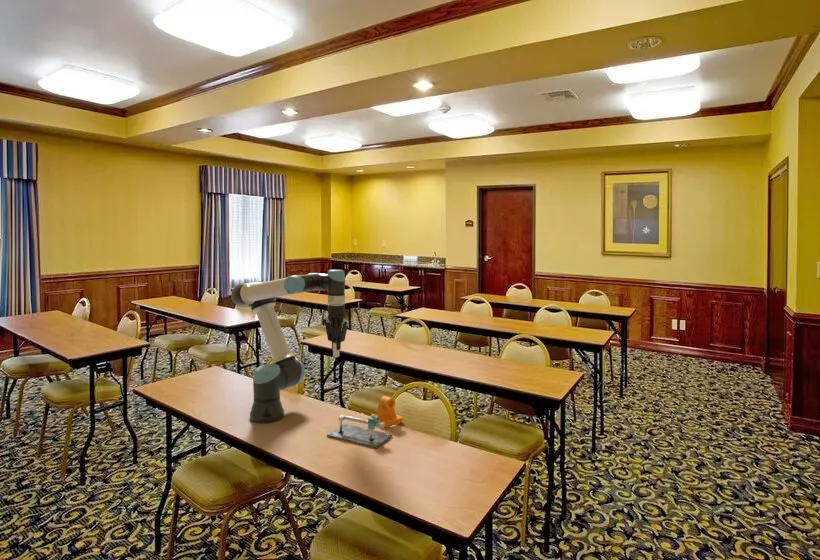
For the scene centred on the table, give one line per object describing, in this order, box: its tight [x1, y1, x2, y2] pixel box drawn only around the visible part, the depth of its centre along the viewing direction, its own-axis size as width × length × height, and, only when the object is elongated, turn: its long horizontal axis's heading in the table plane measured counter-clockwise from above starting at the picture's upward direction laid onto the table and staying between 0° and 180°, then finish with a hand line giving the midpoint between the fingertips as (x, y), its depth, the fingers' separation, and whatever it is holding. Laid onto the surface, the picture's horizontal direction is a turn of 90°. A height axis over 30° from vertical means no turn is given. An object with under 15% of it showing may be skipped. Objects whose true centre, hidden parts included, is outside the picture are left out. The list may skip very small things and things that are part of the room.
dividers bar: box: [338, 414, 385, 433], centre depth 197 cm, size 21×3×7 cm, turn 63°
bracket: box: [375, 395, 403, 428], centre depth 213 cm, size 11×7×12 cm, turn 135°
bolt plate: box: [326, 423, 393, 450], centre depth 199 cm, size 24×13×1 cm, turn 63°
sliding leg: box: [367, 413, 379, 439], centre depth 195 cm, size 2×4×9 cm, turn 153°
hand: (336, 356), depth 214 cm, fingers closed
